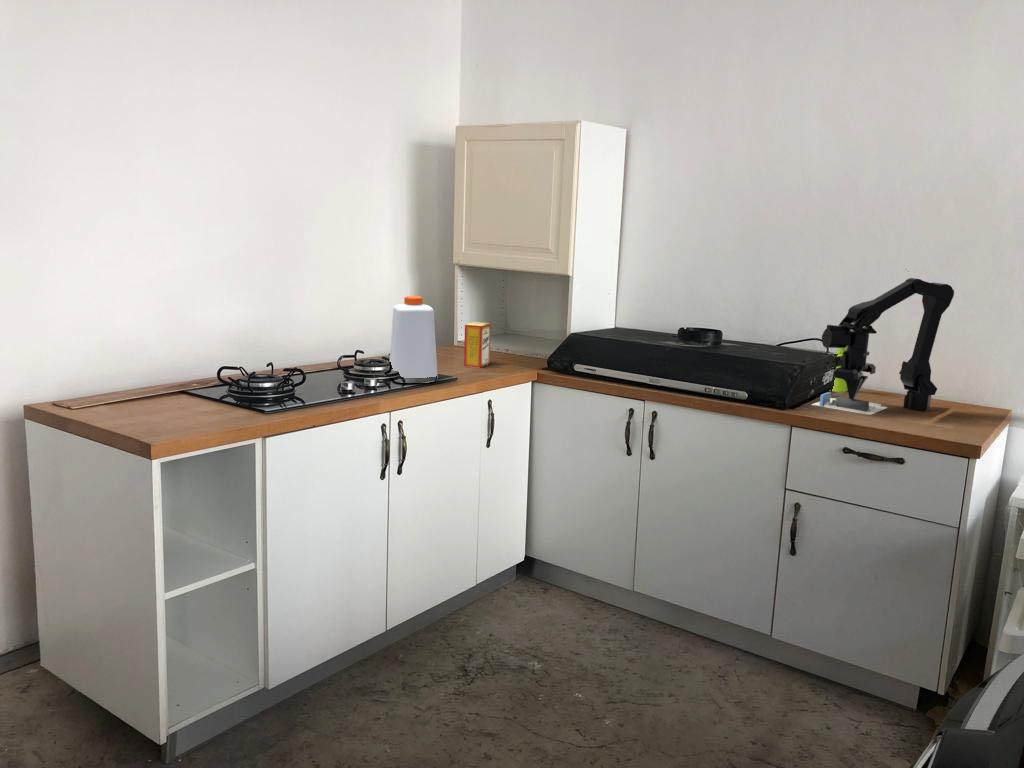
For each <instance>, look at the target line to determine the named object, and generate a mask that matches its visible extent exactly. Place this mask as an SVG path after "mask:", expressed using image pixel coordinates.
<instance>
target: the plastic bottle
mask: <svg viewBox="0 0 1024 768" xmlns="http://www.w3.org/2000/svg"><path fill="white" fill-rule="evenodd" d="M391 323H392V324H391V336H390V348H389V349H390V350H389V362H391V365H392V368H393V370H394V371H398V372H399V374H400V376H401V377H404V378H427V377H428V378H429V377H436V376H437V377H438V366H437V365H438V362H437V347H436V344H437V343H436V329H435V328H436V327H435V326H436V325H435V310H434V309H433V308H432V306H430V305H428V304H424V301H423V297H422V296H417V295H415V296H414V295H412V296H411V295H409V296H407V295H406V296H405V297H404V302H403V303H402V304H401V303H400V304H399V303H398V304H395V305H394V306H393V309H392V321H391Z"/></svg>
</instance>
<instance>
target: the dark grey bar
mask: <svg viewBox="0 0 1024 768" xmlns="http://www.w3.org/2000/svg"><path fill="white" fill-rule="evenodd" d="M835 399H836V406H838V407H844V408H850V409H856V410H862V411H867V410H868V408H869V402H870V401H868V400H867V401H866V400H860V399H856V398H854V399H850V398H849V397H843V396H837V397H835Z"/></svg>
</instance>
